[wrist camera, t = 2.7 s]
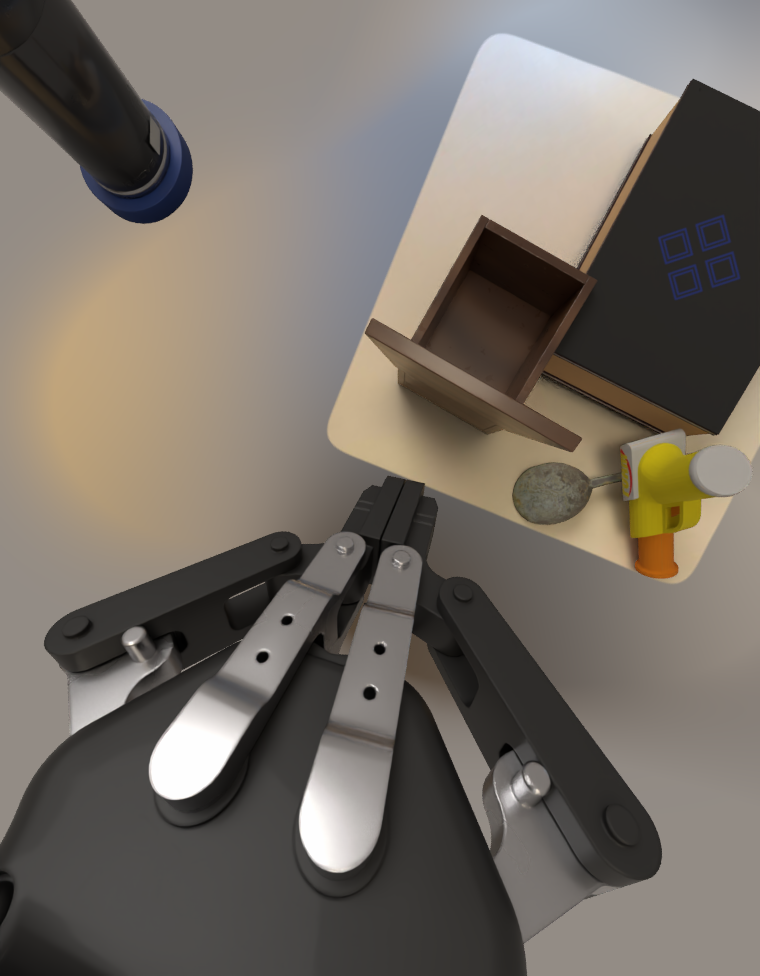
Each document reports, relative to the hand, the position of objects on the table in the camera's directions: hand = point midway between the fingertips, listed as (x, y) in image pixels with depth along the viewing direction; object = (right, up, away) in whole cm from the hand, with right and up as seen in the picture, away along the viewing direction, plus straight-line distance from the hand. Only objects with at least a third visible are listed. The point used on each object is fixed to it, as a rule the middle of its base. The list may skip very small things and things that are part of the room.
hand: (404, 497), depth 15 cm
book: (+28, +21, +24) cm, 42 cm away
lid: (+5, +7, +10) cm, 13 cm away
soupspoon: (+24, +5, +24) cm, 34 cm away
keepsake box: (+10, +16, +25) cm, 31 cm away
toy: (+28, -4, +15) cm, 31 cm away
